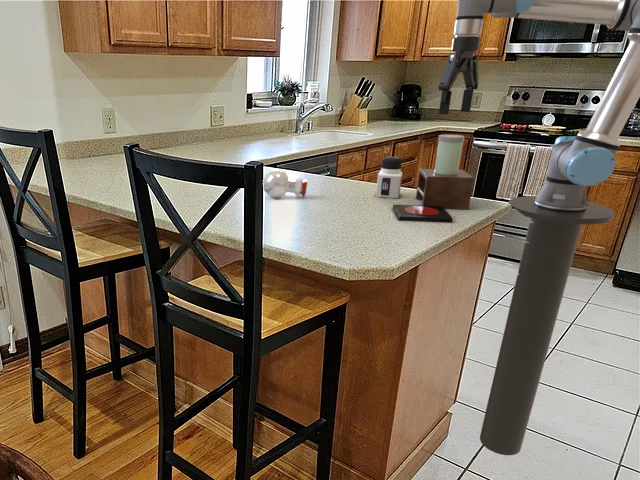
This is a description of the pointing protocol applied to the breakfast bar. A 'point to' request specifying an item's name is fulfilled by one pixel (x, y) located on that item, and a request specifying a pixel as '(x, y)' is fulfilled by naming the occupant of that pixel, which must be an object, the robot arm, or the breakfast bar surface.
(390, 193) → the container
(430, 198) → the brown box
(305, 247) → the breakfast bar surface
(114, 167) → the breakfast bar surface
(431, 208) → the hob plate
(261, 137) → the breakfast bar surface
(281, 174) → the potion bottle
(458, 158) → the jar
